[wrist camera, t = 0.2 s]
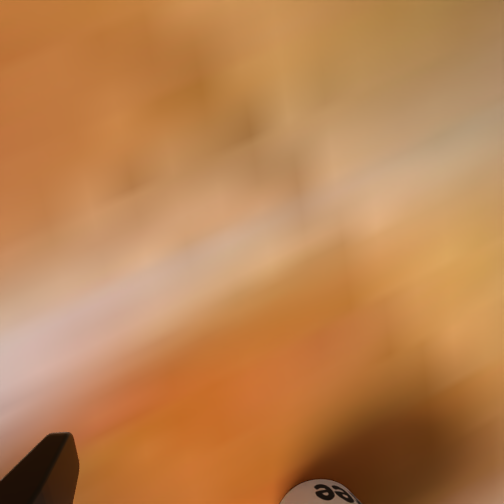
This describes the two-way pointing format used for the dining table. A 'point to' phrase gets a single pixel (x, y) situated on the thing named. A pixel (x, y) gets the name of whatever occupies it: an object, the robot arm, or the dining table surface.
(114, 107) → the dining table surface
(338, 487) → the cup
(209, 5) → the dining table surface
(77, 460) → the robot arm
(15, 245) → the dining table surface
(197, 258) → the dining table surface
